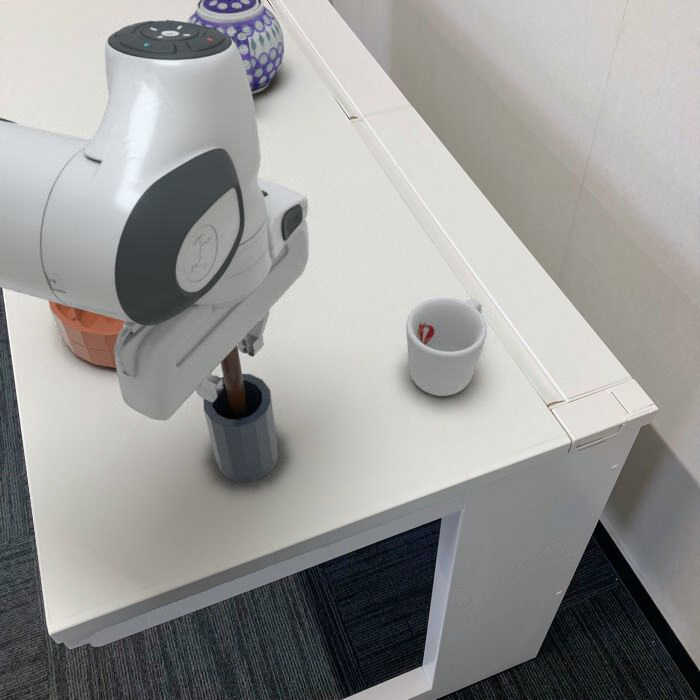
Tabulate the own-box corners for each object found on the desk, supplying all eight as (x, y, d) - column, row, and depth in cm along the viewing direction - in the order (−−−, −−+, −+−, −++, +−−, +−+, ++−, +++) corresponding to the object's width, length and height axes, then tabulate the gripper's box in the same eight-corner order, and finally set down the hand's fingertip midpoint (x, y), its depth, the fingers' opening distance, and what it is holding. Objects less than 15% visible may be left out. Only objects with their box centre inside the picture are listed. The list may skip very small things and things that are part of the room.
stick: (248, 460, 74) (221, 315, 59) (235, 453, 75) (205, 308, 60) (258, 448, 75) (234, 302, 60) (244, 442, 76) (217, 295, 61)
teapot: (298, 117, 116) (292, 19, 105) (196, 129, 114) (179, 30, 103) (274, 39, 133) (267, -53, 121) (184, 49, 131) (168, -44, 119)
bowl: (144, 394, 81) (131, 356, 76) (32, 337, 86) (14, 298, 82) (235, 300, 90) (229, 261, 86) (129, 254, 96) (118, 215, 91)
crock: (255, 492, 73) (245, 437, 66) (203, 465, 75) (189, 408, 68) (290, 447, 76) (284, 389, 69) (240, 421, 78) (229, 364, 72)
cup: (441, 323, 87) (447, 270, 81) (503, 354, 84) (515, 301, 78) (388, 383, 82) (390, 331, 76) (453, 418, 78) (461, 367, 72)
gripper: (148, 356, 49) (184, 476, 59) (319, 187, 60) (324, 311, 71) (74, 320, 51) (121, 442, 61) (253, 163, 62) (267, 287, 73)
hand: (231, 370), depth 66 cm, fingers open, 4 cm apart
